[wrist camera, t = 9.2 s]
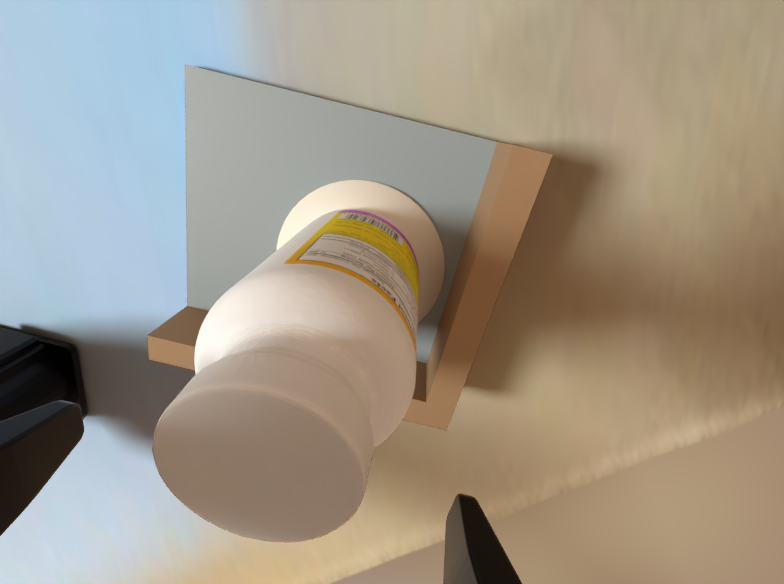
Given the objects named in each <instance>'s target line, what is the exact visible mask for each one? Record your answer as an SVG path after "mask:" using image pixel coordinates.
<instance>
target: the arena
mask: <svg viewBox="0 0 784 584" xmlns="http://www.w3.org/2000/svg"><path fill="white" fill-rule="evenodd" d="M185 134H186V228H187V307H185V308H184V309H183V310H181V311H180V312H179V313H177V314H176V315H174V316H173V317H172V318H170V319H169V320H168V321H166V322H165V323H164V324H162V325H161V326H160V327H158V328H157V329H155V330H154V331H153V332H151V333H150V334H149V335H147V338H148V353H149V360H153V361H157V362H161V363H166V364H170V365H174V366H178V367H182V368H186V369H191V370H195V362H194V356H195V346H196V341H197V337H198V334H199V330H200V328H201V325H202V323H203V321H204V319H205V317H206V315H207V314H208V312H209V311H210V309H211V308H212V307H213V305H214V304H215V303H216V301H217V300H218V299H219V298H220V297H221V296H222V295H223V294H224V293H225V292H226V291H228V290H229V289H230V288H231V287H233V286H234V285H235V284H236V283H237V282H239V281H240V280H241V279H242V278H244V277H245V276H246V275H247V274H249V273H250V272H251V271H252V270H254V269H255V268H256V267H257V266H259V265H260V264H261V263H262V262H263V261H265V260H266V259H267V258H268V257H270V256H271V255H272V254H273V253H274V252H276V251H277V250H278V249H279V248H280V247H282V246H283V245H284V244H285V243H286V242H288V241H289V240H290V239H291V238H292V237H294V236H295V235H296V234H297V233H298V232H300V231H301V230H302V229H303V228H305V227H306V226H307V225H309V224H310V223H311V222H313V221H314V220H315V219H317V218H318V217H320V216H322V215H324V214H326V213H329V212H332V211H335V210H341V209H361V210H366V211H370V212H373V213H376V214H379V215H381V216H383V217H385V218H386V219H388V220H389V221H391V222H392V223H394V224H395V225H396V226H397V227H398V228H399V229H400V230H401V231H402V232H403V233H404V234H405V236H406V237H407V238H408V240H409V242H410V243H411V245H412V247H413V250H414V252H415V254H416V258H417V262H418V270H419V292H418V322H417V358H416V382H415V390H414V393H413V397H412V400H411V403H410V406H409V409H408V411H407V413H406V415H405V416H404V418H403V420H404V421H409V422H413V423H417V424H421V425H425V426H430V427H434V428H438V429H442V430H447V428H448V425H449V423H450V420H451V417H452V415H453V412H454V410H455V407H456V405H457V402H458V399H459V397H460V394H461V392H462V389H463V386H464V384H465V381H466V379H467V376H468V373H469V371H470V368H471V366H472V363H473V360H474V358H475V355H476V353H477V350H478V347H479V345H480V342H481V340H482V337H483V334H484V332H485V329H486V327H487V324H488V321H489V319H490V316H491V314H492V311H493V308H494V306H495V303H496V301H497V298H498V296H499V293H500V290H501V288H502V285H503V283H504V280H505V277H506V275H507V272H508V270H509V267H510V264H511V262H512V259H513V257H514V254H515V251H516V249H517V246H518V244H519V241H520V238H521V236H522V233H523V231H524V228H525V225H526V223H527V220H528V218H529V215H530V212H531V210H532V207H533V205H534V202H535V200H536V197H537V194H538V192H539V189H540V187H541V184H542V181H543V179H544V176H545V174H546V171H547V168H548V166H549V163H550V161H551V158H552V154H548V153H544V152H540V151H536V150H532V149H528V148H524V147H520V146H516V145H511V144H506V143H500V142H495V141H491V140H487V139H483V138H479V137H475V136H471V135H467V134H463V133H459V132H455V131H451V130H447V129H443V128H439V127H435V126H431V125H427V124H423V123H419V122H415V121H411V120H407V119H403V118H399V117H395V116H391V115H387V114H383V113H379V112H375V111H371V110H367V109H363V108H359V107H355V106H351V105H347V104H343V103H339V102H335V101H331V100H327V99H323V98H319V97H315V96H311V95H307V94H303V93H299V92H295V91H291V90H287V89H282V88H278V87H274V86H270V85H266V84H262V83H258V82H254V81H250V80H246V79H242V78H238V77H234V76H230V75H226V74H222V73H218V72H214V71H210V70H206V69H202V68H198V67H194V66H190V65H186V64H185Z"/></svg>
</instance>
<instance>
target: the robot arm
mask: <svg viewBox="0 0 784 584" xmlns="http://www.w3.org/2000/svg"><path fill="white" fill-rule="evenodd" d="M86 416H87V410H86V404H85V398H84V392H83V385H82V379H81V373H80V367H79V361H78V355H77V350H76V348H75V347H74V346H73V345H71V344H69V343H65V342H61V341H57V340H52V339H48V338H44V337H40V336H36V335H31V334H27V333H23V332H19V331H15V330H11V329H6V328H2V327H0V536H1V535H2V534H3V533H4V531H5V530H6V529H7V528H8V527H9V526H10V525H11V524H12V523H13V522H14V521H15V520H16V518H17V517H18V516H19V515H20V514H21V513H22V512H23V511H24V510H25V508H26V507H27V506H28V505H29V504H30V503H31V501H32V500H33V499H34V498H35V497H36V495H37V494H38V493H39V492H40V490H41V489H42V488H43V487H44V485H45V484H46V483H47V482H48V480H49V479H50V478H51V477H52V475H53V474H54V473H55V471H56V470H57V469H58V468H59V466H60V465H61V464H62V463H63V461H64V460H65V459H66V457H67V456H68V455H69V454H70V452H71V451H72V450H73V449H74V447H75V446H76V445H77V443H78V442H79V441H80V439H81V438H82V436H83V433H84V425H83V419H84V418H85V417H86ZM443 584H522V583H521V581H520V579H519V577H518V575H517V573H516V571H515V570H514V568H513V566H512V564H511V562H510V560H509V559H508V557H507V555H506V553H505V551H504V549H503V547H502V546H501V544H500V542H499V540H498V538H497V536H496V535H495V533H494V531H493V529H492V527H491V525H490V523H489V522H488V520H487V518H486V516H485V514H484V512H483V511H482V509H481V507H480V505H479V503H478V501H477V500H476V499H475V498H474V497H472V496H468V495H464V494H458V495H457V496H456V498H455V500H454V502H453V504H452V507H451V509H450V511H449V513H448V516H447V520H446V534H445V557H444V580H443Z"/></svg>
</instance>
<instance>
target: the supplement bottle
mask: <svg viewBox="0 0 784 584" xmlns="http://www.w3.org/2000/svg"><path fill="white" fill-rule="evenodd" d="M418 292H419V270H418V262H417V258H416V254H415V252H414V250H413V247H412V245H411V243H410V242H409V240H408V238H407V237H406V236H405V234H404V233H403V232H402V231H401V230H400V229H399V228H398V227H397V226H396V225H395V224H394V223H392V222H391V221H389V220H388V219H386V218H385V217H383V216H381V215H379V214H376V213H373V212H370V211H366V210H361V209H341V210H335V211H332V212H329V213H326V214H324V215H322V216H320V217H318V218H317V219H315V220H314V221H313V222H311V223H310V224H309V225H307V226H306V227H305V228H303V229H302V230H301V231H300V232H298V233H297V234H296V235H295V236H294V237H292V238H291V239H290V240H289V241H288V242H286V243H285V244H284V245H283V246H282V247H280V248H279V249H278V250H277V251H276V252H274V253H273V254H272V255H271V256H270V257H268V258H267V259H266V260H265V261H263V262H262V263H261V264H260V265H259V266H257V267H256V268H255V269H254V270H252V271H251V272H250V273H249V274H247V275H246V276H245V277H244V278H242V279H241V280H240V281H239V282H237V283H236V284H235V285H234V286H233V287H231V288H230V289H229V290H228V291H226V292H225V293H224V294H223V295H222V296H221V297H220V298H219V299H218V300H217V301H216V303H215V304H214V305H213V307H212V308H211V309H210V311H209V312H208V314H207V315H206V317H205V319H204V321H203V323H202V325H201V328H200V330H199V334H198V337H197V341H196V346H195V356H194V362H195V373H196V375H195V376H194V377H193V378H192V379H191V380H190V381H189V383H188V384H187V385H186V386H185V387H184V388H183V390H182V391H181V392H180V393H179V394H178V395H177V397H176V398H175V399H174V400H173V401H172V402H171V404H170V405H169V406H168V407H167V408H166V409H165V411H164V412H163V414H162V415H161V417H160V418H159V420H158V423H157V425H156V427H155V431H154V435H153V447H152V451H153V456H154V460H155V464H156V467H157V469H158V472H159V474H160V476H161V478H162V479H163V481H164V482H165V484H166V485H167V487H168V488H169V489H170V491H171V492H172V493H173V494H174V495H175V496H176V497H177V498H178V499H179V500H180V501H181V502H182V503H183V504H184V505H185V506H187V507H188V508H189V509H191V510H192V511H193V512H194V513H196V514H197V515H199V516H200V517H202V518H203V519H205V520H206V521H208V522H210V523H212V524H214V525H216V526H218V527H220V528H222V529H224V530H227V531H229V532H231V533H234V534H237V535H240V536H243V537H247V538H252V539H258V540H263V541H270V542H298V541H305V540H310V539H314V538H318V537H321V536H324V535H326V534H328V533H330V532H332V531H334V530H336V529H337V528H339V527H340V526H342V525H343V524H344V523H346V522H347V521H348V520H349V519H350V518H351V517H352V516H353V515H354V513H355V512H356V511H357V509H358V507H359V505H360V503H361V501H362V499H363V496H364V493H365V489H366V484H367V478H368V473H369V467H370V463H371V459H372V456H373V449H374V448H375V447H377V446H379V445H380V444H381V443H382V442H383V441H385V440H386V439H387V438H388V437H389V436H390V435H391V434H392V433H393V432H394V431H395V430H396V428H397V427H398V426H399V424H400V423H401V421H402V420H403V418H404V416H405V415H406V413H407V411H408V409H409V406H410V403H411V400H412V397H413V393H414V390H415V382H416V358H417V322H418Z"/></svg>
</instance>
